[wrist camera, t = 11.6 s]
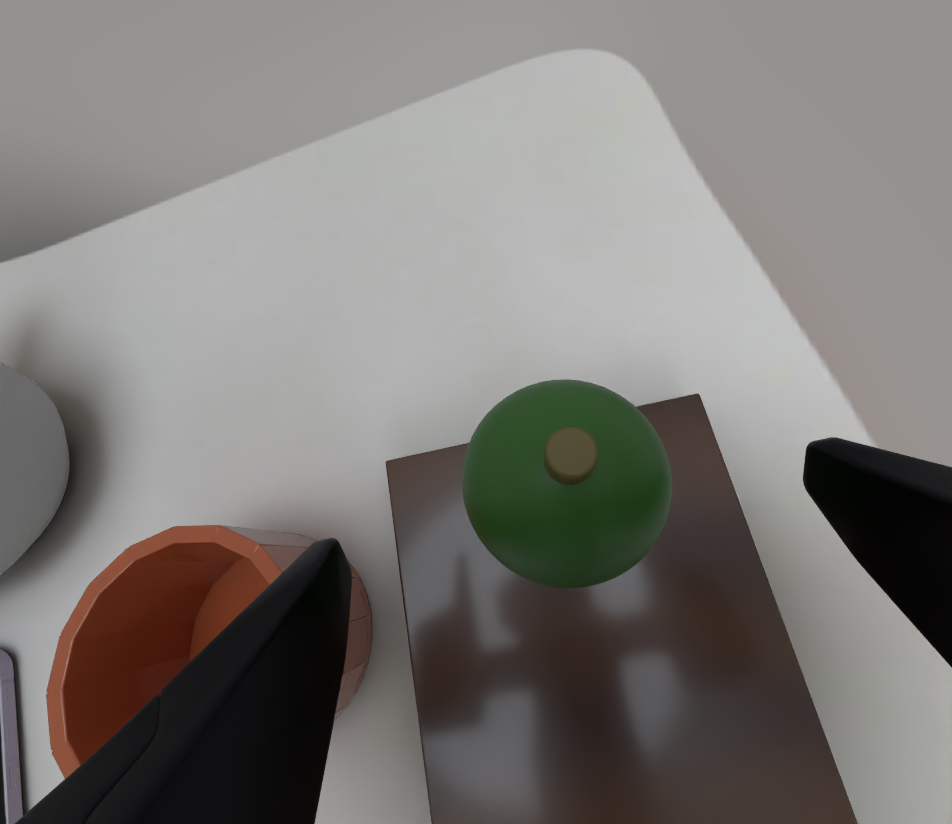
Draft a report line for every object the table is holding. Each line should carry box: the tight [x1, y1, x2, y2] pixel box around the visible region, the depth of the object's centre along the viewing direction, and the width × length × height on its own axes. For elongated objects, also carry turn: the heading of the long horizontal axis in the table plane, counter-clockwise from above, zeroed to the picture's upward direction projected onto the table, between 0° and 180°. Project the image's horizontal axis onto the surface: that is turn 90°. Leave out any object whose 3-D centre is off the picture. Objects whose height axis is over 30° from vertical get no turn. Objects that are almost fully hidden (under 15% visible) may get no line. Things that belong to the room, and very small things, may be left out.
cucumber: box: [462, 380, 672, 588], centre depth 11 cm, size 4×4×11 cm
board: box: [386, 394, 858, 824], centre depth 15 cm, size 20×12×2 cm, turn 11°
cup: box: [46, 525, 372, 779], centre depth 15 cm, size 7×7×6 cm
